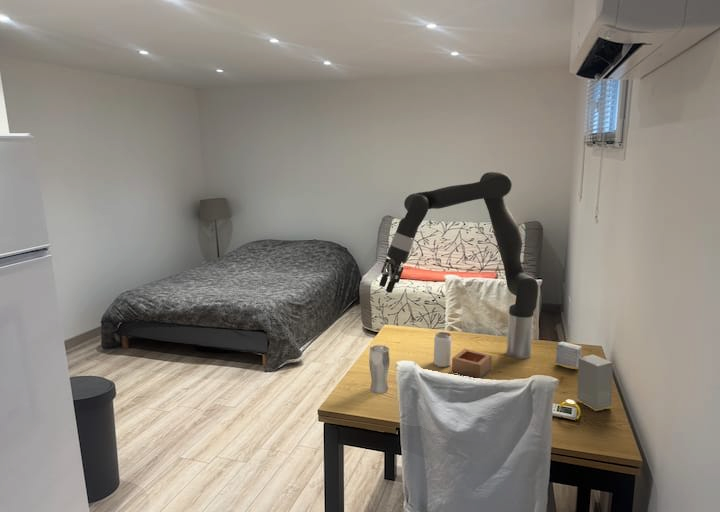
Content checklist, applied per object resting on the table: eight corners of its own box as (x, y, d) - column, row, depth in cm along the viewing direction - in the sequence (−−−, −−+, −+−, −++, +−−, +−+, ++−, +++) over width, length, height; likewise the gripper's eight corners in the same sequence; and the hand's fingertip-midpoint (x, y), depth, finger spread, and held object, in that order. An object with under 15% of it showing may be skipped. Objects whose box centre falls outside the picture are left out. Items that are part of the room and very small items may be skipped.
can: (450, 368, 190) (451, 338, 187) (433, 366, 191) (434, 337, 188) (450, 361, 196) (452, 332, 193) (434, 360, 197) (435, 331, 195)
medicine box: (580, 367, 190) (582, 346, 188) (576, 371, 187) (578, 349, 185) (559, 361, 195) (561, 340, 194) (555, 365, 192) (557, 344, 190)
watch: (579, 420, 153) (582, 402, 152) (578, 424, 151) (581, 406, 150) (558, 414, 156) (561, 396, 155) (557, 418, 154) (560, 400, 152)
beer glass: (382, 396, 168) (383, 354, 165) (365, 391, 171) (365, 349, 168) (392, 388, 173) (393, 347, 170) (375, 383, 177) (375, 343, 174)
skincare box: (611, 409, 159) (616, 362, 156) (593, 413, 157) (598, 366, 153) (590, 397, 167) (595, 352, 164) (573, 401, 164) (578, 355, 161)
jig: (463, 363, 194) (464, 348, 193) (490, 370, 188) (491, 355, 186) (451, 373, 185) (452, 358, 184) (479, 380, 179) (480, 365, 178)
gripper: (416, 254, 175) (400, 297, 176) (403, 247, 188) (388, 287, 190) (397, 247, 172) (381, 291, 174) (385, 241, 186) (370, 281, 188)
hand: (385, 289), depth 182 cm, fingers open, 8 cm apart
